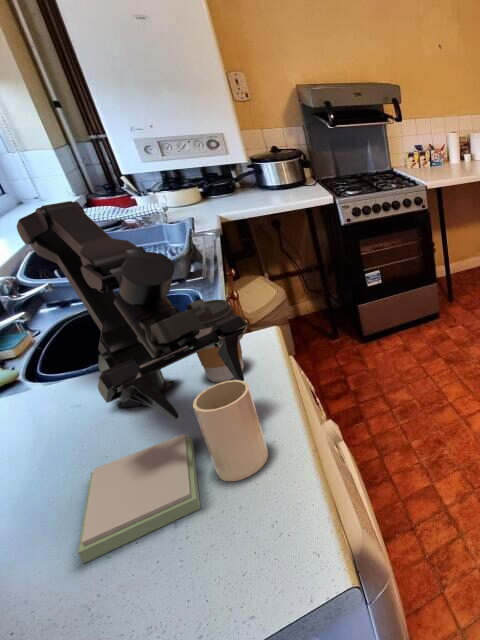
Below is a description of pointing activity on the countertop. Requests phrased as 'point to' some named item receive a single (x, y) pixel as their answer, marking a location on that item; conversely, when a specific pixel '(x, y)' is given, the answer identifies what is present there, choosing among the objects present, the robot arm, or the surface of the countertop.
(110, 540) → the kitchen scale
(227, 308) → the coffee cup
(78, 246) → the robot arm
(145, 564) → the countertop surface
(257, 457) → the cream cup
